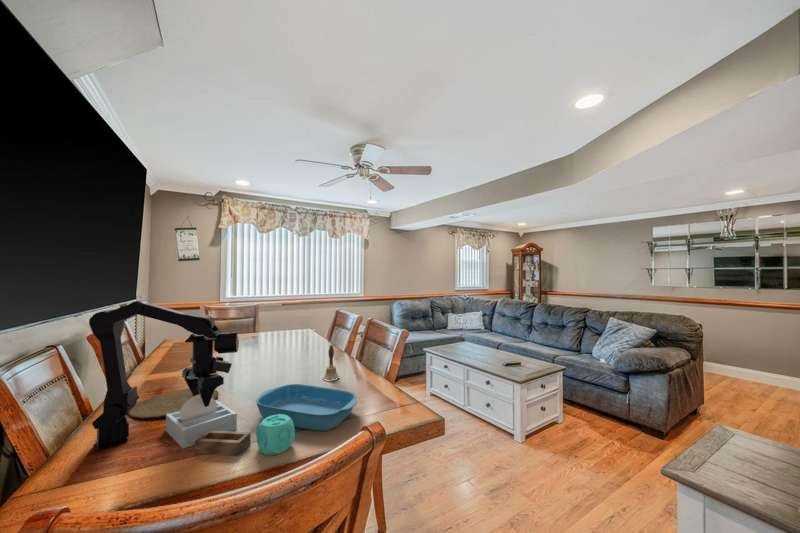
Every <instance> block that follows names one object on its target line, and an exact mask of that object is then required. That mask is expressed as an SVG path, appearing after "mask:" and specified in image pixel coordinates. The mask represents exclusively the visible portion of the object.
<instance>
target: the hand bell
mask: <svg viewBox="0 0 800 533" xmlns="http://www.w3.org/2000/svg"><path fill="white" fill-rule="evenodd" d="M334 355H335V350H334V346H333V345H331V344H330V345H329V348H328V358H329V363H328V364H329V365H328V366H327V367H326V371H325V374H324V376H323V377H322V379H323V378H324V379H327V380H332V379H336V378H338V377H340V375H339V374H338V372H337V367H336V366H335V365H334V359H333V358H334ZM338 375H339V376H338Z"/></svg>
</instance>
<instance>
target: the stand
mask: <svg viewBox="0 0 800 533" xmlns="http://www.w3.org/2000/svg"><path fill="white" fill-rule="evenodd" d="M251 436H252V432H250V431H236V430H233V431H213V430H209V431H208V432H206V433H205V434H204V435H202V436H201V437H200V438H198V439H197V440H195V445H194V454H197V455H199V454H204V455H217V456H218V455H220V456H221V455H222V456H240V455H241V454H242V453H244V451H245V450H246V449H247V448H248V447H249V446H250V445H251V444H252V442H251V440H252V439H251V438H252V437H251Z"/></svg>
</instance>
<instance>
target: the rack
mask: <svg viewBox="0 0 800 533" xmlns="http://www.w3.org/2000/svg"><path fill="white" fill-rule="evenodd" d="M214 400H215V401H216V404H217V411H216V412H214V413H210V414H207V415H204V416H201V417H197V418H194V419H191V420H188V421H185V422H181V421H180V417H179V414H180V411H179V412H175V413H172V414H170V413H169V414H166V417H165V431H166V433H168V435H169V436H170V437H171V438H172V439H173V440H174V441H175V442H176V443H177V445H179V446H180V448H182V449H183V450H184V449H187V448H189V447H192V446H195V440H197V439H198V438H200V437H201V436H202V435H204V434H205V433H206V432H208V431H209V430H213V431H236V430H237V428H238V427H237V426H238V423H237V422H238V413H237V412H236V411H234V410H232V409H231V408H229V407H228V406H226V405H225V404H223V402H222V403H221V402H220V401H218V400H217V399H214Z"/></svg>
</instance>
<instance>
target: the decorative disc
mask: <svg viewBox="0 0 800 533" xmlns="http://www.w3.org/2000/svg"><path fill="white" fill-rule="evenodd" d="M219 395H220V394H219V391H218V390H216V389H215V390H214V392H213V395H212V398H213V399H214V400H217V398H218V396H219ZM191 397H193V395H192V393H191V391H190V389H189V388H187V389H181V390H176V391H171V392H167V393H162V394H159V395H156V396H153V397H151V398H148V399H146V400H143V401H140V402H137V403H136V405H135V406H134V408H133V409H132V410H130V411H129V413H128V416H130V417H131V418H134V419H139V420H141V419H142V420H149V419H160V418H166V414H169V413H170V414H172V413H175V412H179V411H180V410H181V408H182V406H183V405H184V403H185V402H186V401H187V400H188V399H190V398H191Z"/></svg>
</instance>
